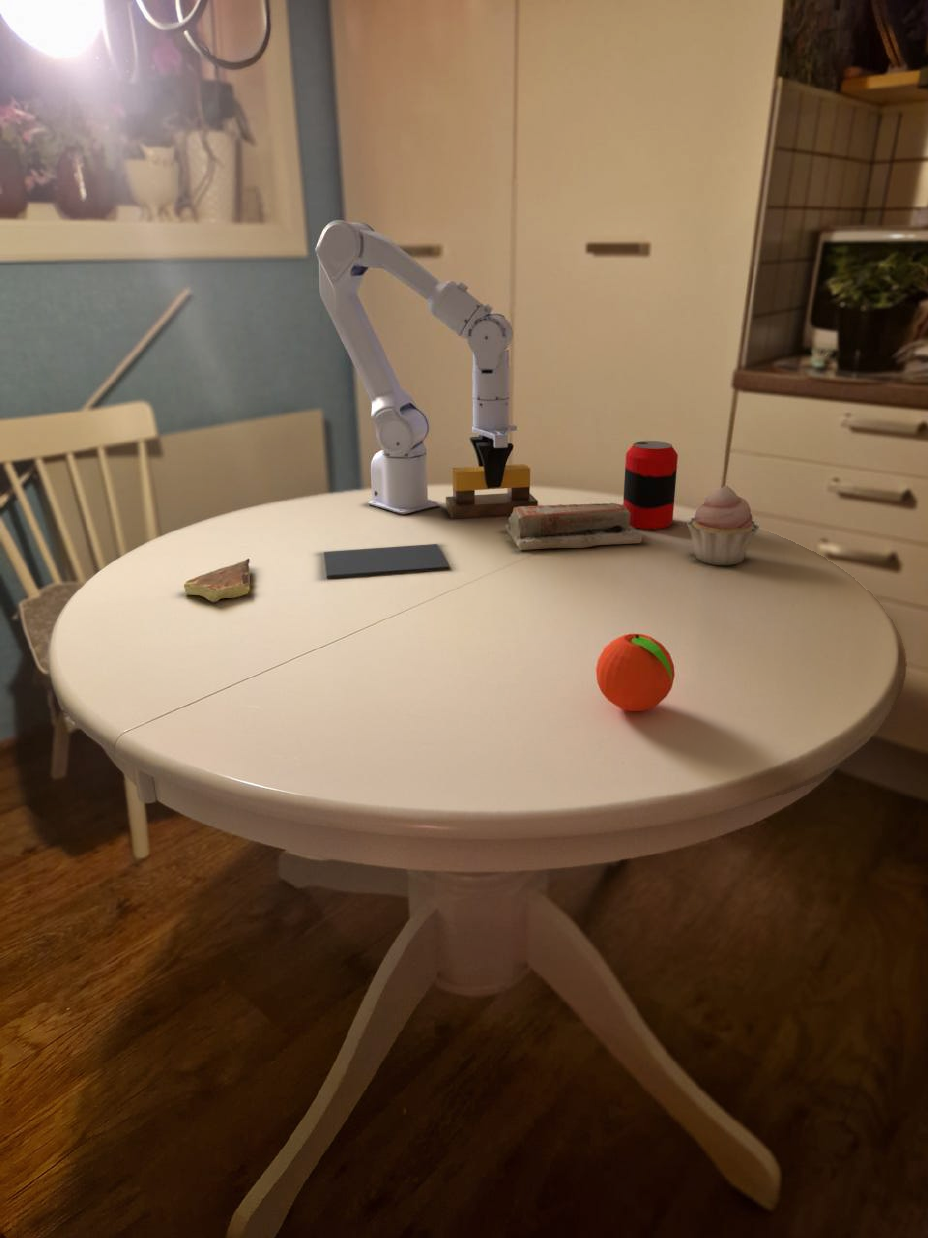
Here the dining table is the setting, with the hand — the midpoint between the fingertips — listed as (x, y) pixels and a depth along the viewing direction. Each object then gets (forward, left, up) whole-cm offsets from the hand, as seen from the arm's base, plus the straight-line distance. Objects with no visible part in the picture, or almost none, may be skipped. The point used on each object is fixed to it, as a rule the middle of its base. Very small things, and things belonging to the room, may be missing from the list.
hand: (491, 484), depth 139 cm
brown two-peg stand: (0, 0, -4) cm, 4 cm away
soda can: (+22, +12, -5) cm, 25 cm away
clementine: (+57, -37, -5) cm, 68 cm away
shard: (+1, -49, -5) cm, 49 cm away
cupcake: (+39, +5, -5) cm, 40 cm away
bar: (0, 0, 0) cm, 0 cm away
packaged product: (+19, -2, -5) cm, 20 cm away
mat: (+8, -28, -4) cm, 29 cm away
